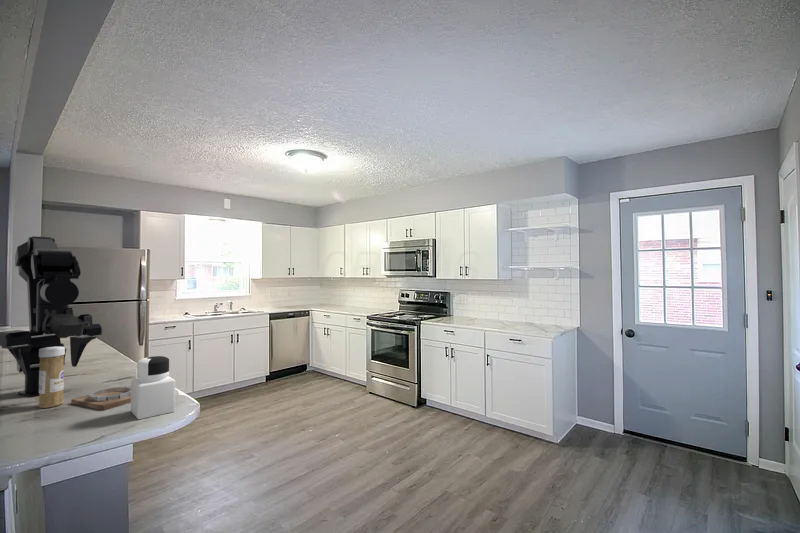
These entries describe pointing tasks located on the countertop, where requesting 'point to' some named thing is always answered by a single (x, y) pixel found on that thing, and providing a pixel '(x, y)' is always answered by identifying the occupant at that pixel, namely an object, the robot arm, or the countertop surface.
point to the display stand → (105, 398)
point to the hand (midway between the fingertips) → (51, 370)
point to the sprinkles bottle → (51, 376)
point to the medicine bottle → (152, 388)
